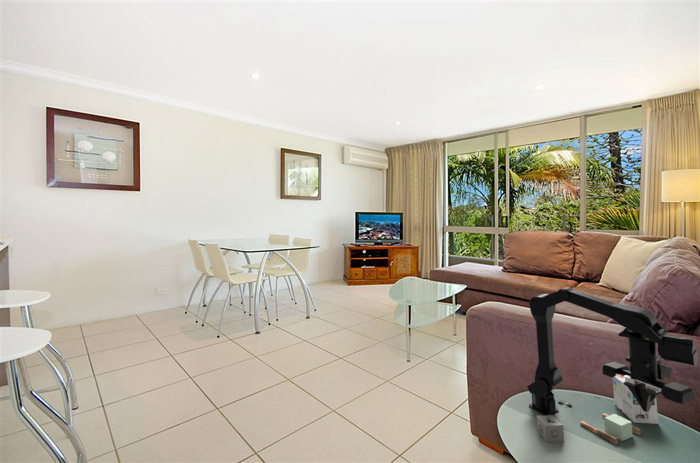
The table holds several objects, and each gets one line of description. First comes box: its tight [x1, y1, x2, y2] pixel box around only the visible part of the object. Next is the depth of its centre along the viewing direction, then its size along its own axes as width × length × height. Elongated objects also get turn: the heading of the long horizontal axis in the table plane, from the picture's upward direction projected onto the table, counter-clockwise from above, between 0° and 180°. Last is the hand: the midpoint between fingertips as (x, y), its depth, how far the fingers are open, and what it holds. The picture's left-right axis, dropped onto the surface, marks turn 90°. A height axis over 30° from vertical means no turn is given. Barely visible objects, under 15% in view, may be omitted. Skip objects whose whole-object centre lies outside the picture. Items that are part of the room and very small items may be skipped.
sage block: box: [604, 413, 634, 441], centre depth 95 cm, size 4×4×4 cm
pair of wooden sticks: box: [579, 412, 642, 445], centre depth 97 cm, size 10×11×2 cm
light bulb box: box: [612, 374, 659, 425], centre depth 104 cm, size 11×7×11 cm, turn 168°
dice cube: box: [536, 414, 565, 443], centre depth 96 cm, size 5×5×5 cm
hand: (646, 411), depth 88 cm, fingers closed
